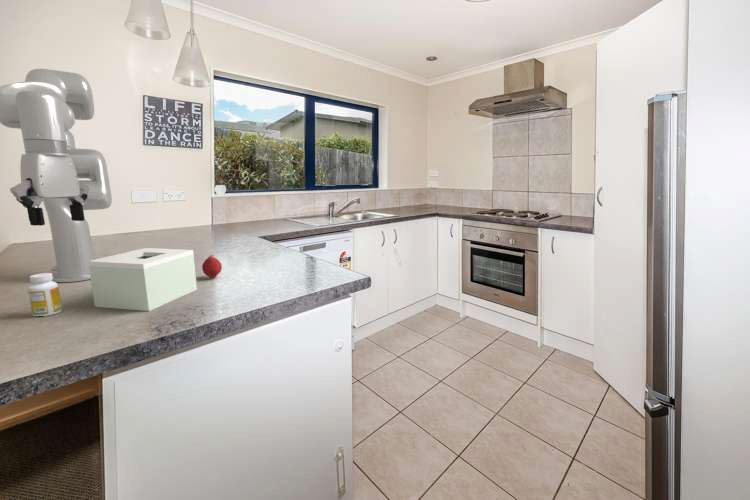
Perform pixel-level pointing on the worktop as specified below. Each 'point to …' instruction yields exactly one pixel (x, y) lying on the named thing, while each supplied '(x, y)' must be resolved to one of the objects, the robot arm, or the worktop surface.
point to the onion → (211, 267)
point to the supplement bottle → (44, 295)
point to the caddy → (142, 278)
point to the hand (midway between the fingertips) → (59, 222)
